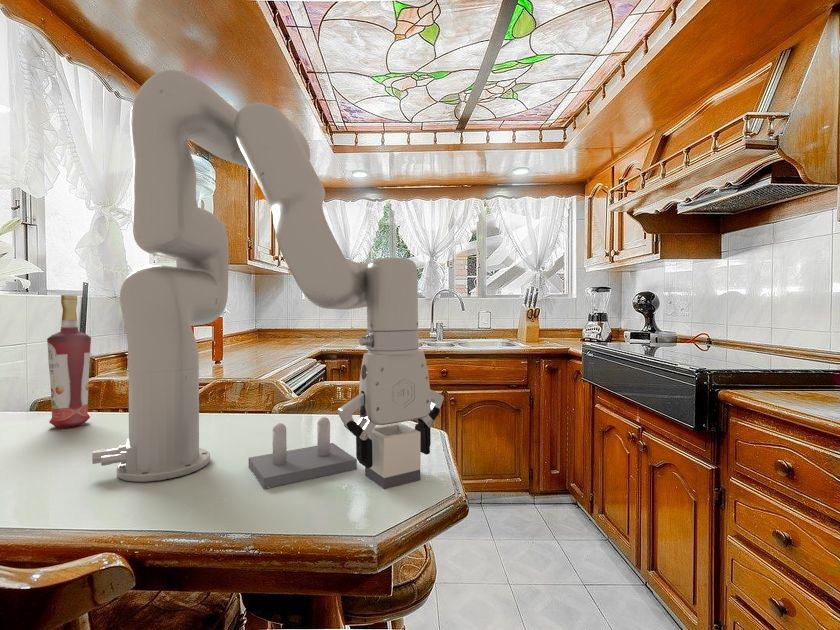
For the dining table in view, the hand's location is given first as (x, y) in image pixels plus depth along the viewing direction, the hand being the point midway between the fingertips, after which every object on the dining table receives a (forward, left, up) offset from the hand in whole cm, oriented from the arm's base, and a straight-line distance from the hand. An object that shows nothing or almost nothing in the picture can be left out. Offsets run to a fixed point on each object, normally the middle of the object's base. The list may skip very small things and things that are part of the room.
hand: (395, 458), depth 64 cm
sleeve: (0, 0, -3) cm, 3 cm away
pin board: (-10, +11, -3) cm, 16 cm away
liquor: (-44, +63, -3) cm, 77 cm away
